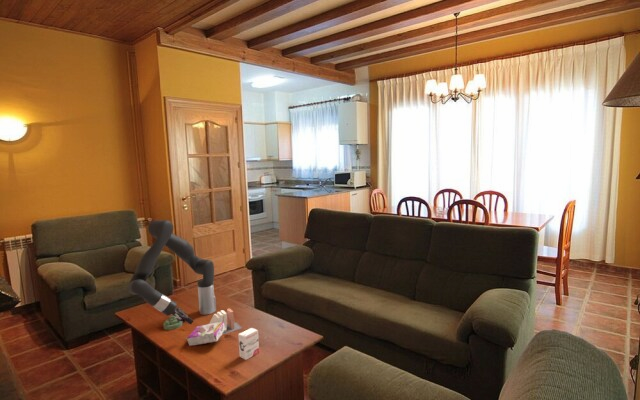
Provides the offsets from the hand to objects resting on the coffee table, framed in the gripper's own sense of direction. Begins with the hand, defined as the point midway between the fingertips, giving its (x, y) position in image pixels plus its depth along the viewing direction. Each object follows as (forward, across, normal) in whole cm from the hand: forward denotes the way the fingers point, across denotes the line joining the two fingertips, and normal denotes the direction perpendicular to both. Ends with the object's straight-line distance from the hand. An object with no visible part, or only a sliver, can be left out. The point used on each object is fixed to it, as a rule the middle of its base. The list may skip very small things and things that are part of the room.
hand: (192, 322), depth 191 cm
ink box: (+23, -28, -9) cm, 38 cm away
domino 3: (+18, +3, -5) cm, 19 cm away
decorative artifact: (+1, +22, +13) cm, 26 cm away
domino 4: (+21, +4, -8) cm, 23 cm away
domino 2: (+15, +2, -2) cm, 15 cm away
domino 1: (+12, +2, +1) cm, 12 cm away
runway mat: (+18, +3, -4) cm, 18 cm away
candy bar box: (+5, -1, +5) cm, 7 cm away
